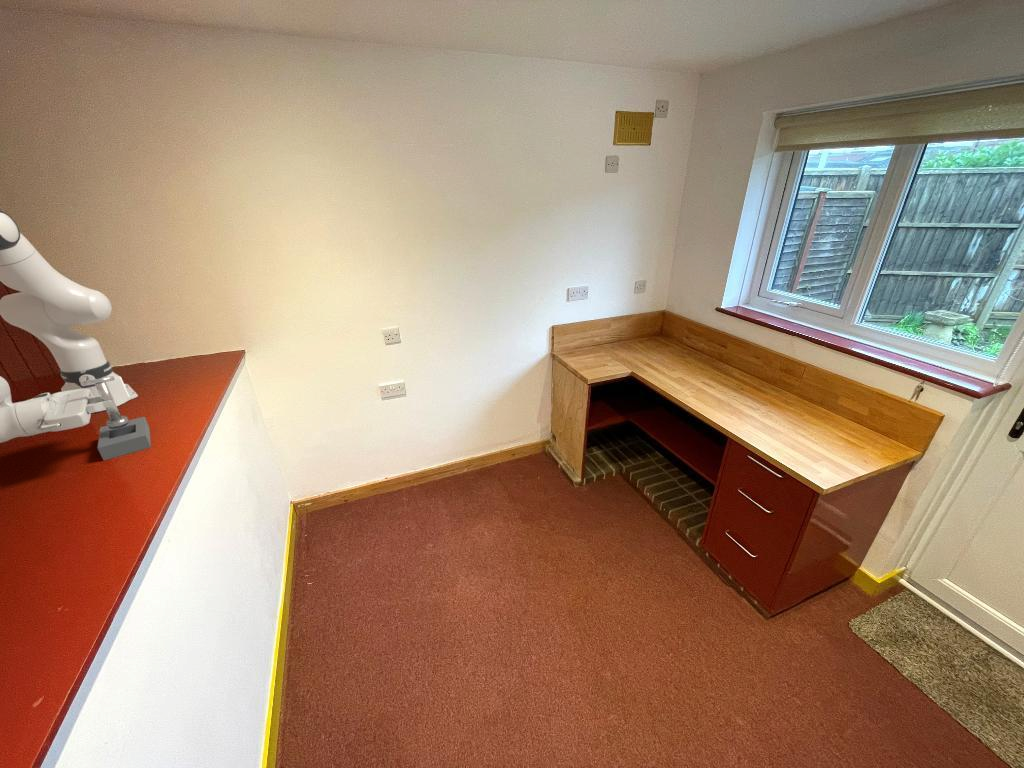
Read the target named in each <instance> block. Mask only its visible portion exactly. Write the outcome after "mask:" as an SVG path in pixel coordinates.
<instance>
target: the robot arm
mask: <svg viewBox="0 0 1024 768" xmlns="http://www.w3.org/2000/svg"><path fill="white" fill-rule="evenodd" d="M0 282H1V283H2V284H3V285H5V287H7V288H10V289H12V290H15V291H18V292H15V293H11V294H7V295H4V296H2V297H1V299H0V316H1V317H2V319H3V320H4V322H6V323H8V324H9V325H11V326H14V327H17V328H20V329H21V330H24V331H25V332H28V333H30V334H31V335H32V336H34V337H35V338H37V339H38V340H39V341H41V343H43V344H44V345H45V346H46V348H47V349H48V350H49V351H50V353H51V355H52V356H53V358H54V360H55V361H56V363H57V365H58V368H59V369H60V370H59V373H60V377H61V378H62V380H63V381H64V382H65V383H64V385H62V387H61V388H60V389H61V391H58V392H54V393H52V394H51V393H50V392H44V393H40V394H38V395H35V396H34V397H32V398H30V399H27V400H23V401H18V402H17V401H16V402H13V398H12V393H11V391H12V390H11V387H10V384H9V382H8V380H7V379H6V378H4V377H3V376H2V375H0V444H1V443H6V442H8V441H11V440H12V439H15V438H21V437H31V436H35V435H39V434H43V433H48V432H60V431H66V430H71V429H75V428H81V427H85V426H87V425H89V424H90V420H91V416H92V414H94V413H98V412H104V411H107V410H106V408H108V407H112V406H113V402H112V400H111V399H107V400H102V399H101V397H100V395H99V393H98V391H97V388H96V386H95V384H93V385H88V386H82V385H81V382H84V381H89V380H95V379H100V378H105V377H110V376H114V378H115V380H113V381H108V382H106V384H107V386H108V388H109V391H110V393H111V395H112V397H113V400H114V402H115V404H116V406H117V407H119V406H121V405H123V404H125V403H127V402H128V401H130V400H133V399H135V398H137V397H139V395H138V393H137V392H136V391H135V390H134V389H133V388H132V387H131V386H130V385H129V383H124V381H123V379H122V376H120V375H119V374H117V373H116V372H114V369H113V368H112V365H111V363H110V361H109V360H107V359H106V356H105V354H104V350H103V349H102V347H101V345H100V343H99V341H98V340H97V339H96V338H94V337H92V336H91V335H88V334H85V333H81V332H79V331H78V330H76V329H75V328H73V327H72V326H78V325H92V324H95V323H99V322H104V321H106V320H108V319H109V318H110V316H111V314H112V311H113V309H112V308H113V306H112V303H111V301H110V299H109V298H108V297H107V296H106V295H105V294H104V293H103V292H101V291H99V290H96V289H92V288H89V287H86V286H84V285H81V284H79V283H77V282H76V281H74V280H71V279H69V278H68V277H66V276H65V275H63V274H62V273H60V272H59V271H57V270H56V268H54V267H53V266H52V265H51V264H50V263H49V262H48V261H47V260H46V259H45V258H44V257H43V256H42V255H41V254H40V252H39V251H38V250H37V249H36V248H35V247H34V245H33V244H32V243H31V242H30V241H29V239H28V238H26V237H25V235H24V234H22V233H21V232H20V228H19V226H18V224H17V223H16V221H15V220H14V219H13V218H12V217H11V216H10V215H9V214H8V213H7V212H5V211H3V210H1V209H0Z"/></svg>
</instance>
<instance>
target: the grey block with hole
mask: <svg viewBox="0 0 1024 768" xmlns="http://www.w3.org/2000/svg"><path fill="white" fill-rule="evenodd" d="M128 421H129V424H127V425H126V426H124V427H121V428H116V429H109V428H108V426H107V425H105V426H101V427H100V428H99V435H98V442H97V450H98V452H99V455H100V456H101V458H102V460H103V461H107V460H110V459H114V458H118V457H121V456H125V455H129V454H132V453H133V454H134V453H136V452H139V451H143V450H146V449H151V447H152V443H151V431H150V426H149V424H148V421H147V418H146V417H145V416H141V417H137V418H132V419H128Z"/></svg>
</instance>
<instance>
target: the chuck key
mask: <svg viewBox="0 0 1024 768" xmlns="http://www.w3.org/2000/svg"><path fill="white" fill-rule="evenodd" d="M113 380H115V378H114V376H110V377H105V378H100V379H95V380H89V381H84V382H81V385H82V386H88V385H93V384H95V386H96V388H97V391H98V393H99V395H100V397H101V399H102V400H107V399H111V400H112V402H113V406H112V407H108V408H106V410H105V411H106V413H107V415H108V417H109V419H107V420H106V421H105V423H106V426H108V428H109V429H116V428H121V427H124V426H126V425H127V424H129V418H128V416H127V415H121V414H120V412H119V411H120V410H119V409H118V406H116V404H115V402H114V400H113V397H112V395H111V393H110V391H109V388H108V386H107V384H106V382H108V381H113Z"/></svg>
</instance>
